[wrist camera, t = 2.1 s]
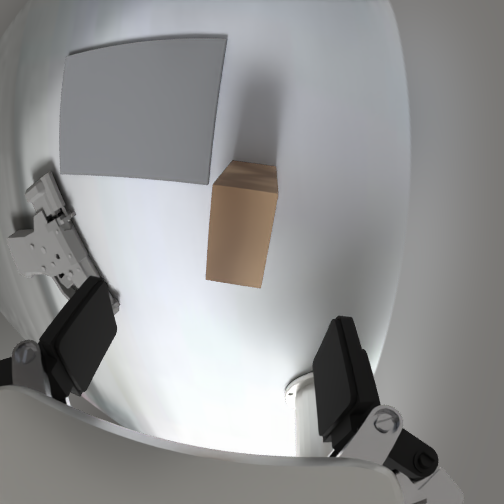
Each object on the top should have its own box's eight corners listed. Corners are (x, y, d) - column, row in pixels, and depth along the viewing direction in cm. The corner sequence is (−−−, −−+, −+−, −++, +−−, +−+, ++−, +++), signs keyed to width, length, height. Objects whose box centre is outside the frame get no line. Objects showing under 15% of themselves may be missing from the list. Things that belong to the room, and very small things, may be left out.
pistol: (-8, 222, 26) (42, 174, 23) (5, 214, 29) (58, 167, 25) (54, 328, 35) (119, 317, 31) (63, 316, 37) (128, 302, 34)
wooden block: (276, 166, 24) (278, 193, 16) (264, 235, 28) (260, 288, 20) (232, 160, 24) (212, 184, 16) (224, 229, 28) (205, 279, 20)
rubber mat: (227, 40, 19) (226, 38, 18) (208, 183, 25) (207, 185, 25) (69, 56, 18) (65, 56, 18) (63, 172, 25) (60, 174, 25)
